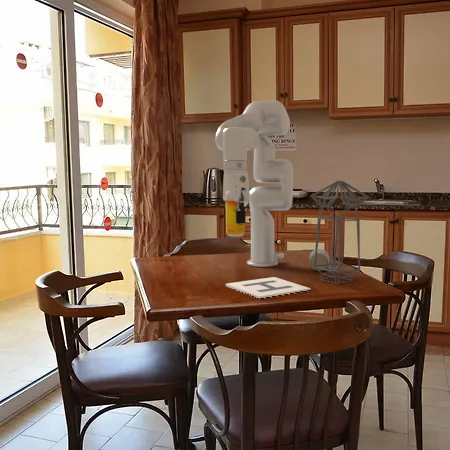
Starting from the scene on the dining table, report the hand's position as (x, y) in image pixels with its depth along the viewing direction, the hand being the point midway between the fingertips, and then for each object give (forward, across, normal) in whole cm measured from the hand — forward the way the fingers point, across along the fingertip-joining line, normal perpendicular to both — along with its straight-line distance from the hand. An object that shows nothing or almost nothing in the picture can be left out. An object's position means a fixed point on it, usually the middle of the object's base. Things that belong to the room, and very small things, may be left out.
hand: (235, 221), depth 171 cm
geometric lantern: (+23, -8, -37) cm, 44 cm away
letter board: (+22, -6, -9) cm, 24 cm away
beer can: (+5, 0, 0) cm, 5 cm away
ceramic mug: (+23, +9, -44) cm, 50 cm away
